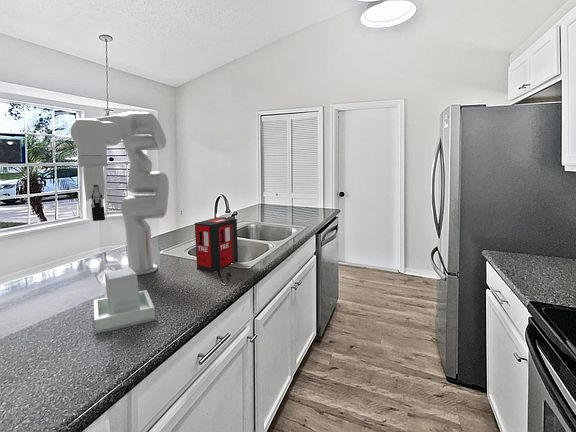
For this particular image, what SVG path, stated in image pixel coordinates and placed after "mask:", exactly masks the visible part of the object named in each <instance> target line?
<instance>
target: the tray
mask: <svg viewBox="0 0 576 432" xmlns="http://www.w3.org/2000/svg"><path fill="white" fill-rule="evenodd" d="M138 293H139V304H140V309H137V310H133V311H128V312H123V313H118V314H114V315H111V314H110V312H109V309H108V299H107V296H106V297H102V298H96V299H93V309H94V310H93V318H94V319H93V320H94V327H95V328H94V329H95V334H96V333H98V334H101V332H102V333H106V332H110V331H115V330H119V329H123V328H127V327H132V326H136V325H141V324H144V323H150V322H153V321H156V314H155V313H156V312H155V305H154V303H153V301H152V299H151V296H150V294H149V293H148V290H147V289H145V290H138Z"/></svg>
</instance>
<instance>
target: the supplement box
mask: <svg viewBox="0 0 576 432" xmlns="http://www.w3.org/2000/svg"><path fill="white" fill-rule="evenodd" d="M104 280H105V288H106V297H107V299H108V309H109V312H110V314H111V315H114V314H118V313H123V312H128V311H133V310H137V309H140V304H139V293H138V292H139V282H138V275H137V274H136V273H135V272H134V271H133V270H132V269H131V268H127V267H125V268H123V269H117V270H111V271H107V272H104Z"/></svg>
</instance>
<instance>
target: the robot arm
mask: <svg viewBox="0 0 576 432" xmlns="http://www.w3.org/2000/svg"><path fill="white" fill-rule="evenodd" d="M70 137H71V140H73V142H74V143H76V151H77V153H76V154H77V160H78V161H77V163H78V167H79V168H83V169H82V173H83V187H84V194H85V195H84V196H85V200H86V201H87V202H88V201H90V199H91V204H90V205H91V218H92V221H93V222H99V221H100V222H101V221H105V220H106V214H105V206H104V202H103V200H105V195H106V193H105V188H106V185H105V172H104V167H105V168H106V167H107V168H108V157H107V156H108V155H107V147H111V146H116V145H119V144H120V143H121V142H122V143H123V147H124V148H125V151H126V153H127V157H128V159H129V163H130V164H129V170H128V181H127V189H128V191H129V192H130V193H131V194H133V195H129V196H125V197H124V198H123V199H122V200H121V201H120V211H121V215H122V217H123V222H124V223H123V224H124V229H125V240H126V241H125V242H126V252H127V253H126V254H127V264H128V266H127V267H126V268H131V269H132V270H133V271H134V272H135V273H136V274H137V276H139V275H147V274H151V273H153V272H155V271H157V270H158V265H157V264H155V263H154V257H153V255H154V254H153V244H152V243H153V242H152V229H151V227H150V225H149V223H148V222H147V221H146V219H148V220H149V219H150V220H151V219H162V218H165V216H167V213H168V204H169V192H170V191H169V190H170V189H169V188H170V183H169V177H168V175H167V174H166V173H165V172H163V171H152V167H153V163H152V161H151V159H150V158H149V156H147V154H145V152H144V151H161V150H163V149H165V147H166V145H167V138H166V134H165V132H164V130H163V128H162V126H161V123H160V121H159V120H158V118H157V117H156V116H155V115H154V113H152V112H148V111H140V112H139V111H135V112H134V111H125V112H121V113H117V114H114V115H107V116H106V115H105V116H100V117H92V118H78V119H76V120H75V121H74V123H73V124H72V125H71V127H70ZM134 194H135V195H134Z"/></svg>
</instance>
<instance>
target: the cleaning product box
mask: <svg viewBox="0 0 576 432" xmlns="http://www.w3.org/2000/svg"><path fill="white" fill-rule="evenodd" d="M194 235H195V253H196V254H195V255H196V270H200V271H205V272H208V273H209V272H210V273H216V272H217V271H219V270H222V269H224V268H227V267H230V266H231V265H230V264H231V263H234V264H237V263H238V262H239V255H238V254H239V252H238V251H239V250H238V219H237V218H233V217H225V216H221V217H216V218H212V219H207V220H202V221H198V222H194ZM229 265H230V266H229Z"/></svg>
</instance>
